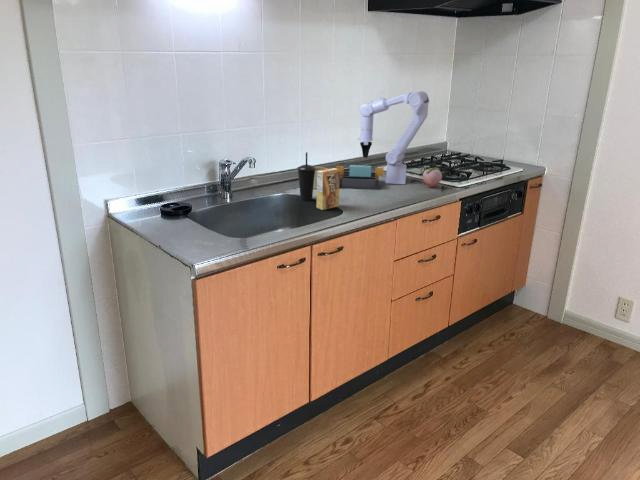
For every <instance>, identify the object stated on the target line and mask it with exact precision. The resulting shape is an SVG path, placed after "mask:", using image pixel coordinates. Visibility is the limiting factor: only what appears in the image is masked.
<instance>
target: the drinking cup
mask: <svg viewBox="0 0 640 480" xmlns="http://www.w3.org/2000/svg"><path fill="white" fill-rule="evenodd" d="M315 167H316V166H314V165H311V164H308V152H306V151H305V164H302V165H300V166H298V167H297V168H296V169H297V172H298V173H297V174H298V183H299V195H300V197H299V198H300V201H303V202H310V201H312V200H313V194H314V189H313V185H314V175H315V169H316V168H315Z"/></svg>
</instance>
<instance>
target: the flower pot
mask: <svg viewBox="0 0 640 480" xmlns="http://www.w3.org/2000/svg"><path fill="white" fill-rule="evenodd" d="M314 167H315V168H316V169H315V175H314V185H313V190H317V171H320V170H326V169H328V168H327V167H321V166H314Z"/></svg>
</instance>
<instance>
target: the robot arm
mask: <svg viewBox="0 0 640 480" xmlns="http://www.w3.org/2000/svg"><path fill="white" fill-rule="evenodd" d="M403 103H405V104H409V106H411V108H412V110H413V113H414V116H413V117H412V119H411V121H409V124H408V125H407V127H406V129H405V130H404V132H403V133H402V134H401V137H400V138H399V140H398V141H397V142H396V143H395V145H394V146H393V147H392V149H391V150H390V151H388V152H386V154H385V161H386V163H387V164H386V174H385V175H386V178H385V179H384V181H385V184H390V185H392V184H394V185H406V182H407V181H406V180H407V164H404V163H403V160H404V159H405V155H406V152H407V150H408V149H407V148H408V147H409V145H410V144H411V142H412V140H413V139H414V138H415V136H416V135H417V133H418V131H419V130H420V128H421V127H422V125H423V124H424V122H425V120H426V119H427V118H428V115H429V104H430V97H429V96H428V93H427V91H424V90H419V91H414V92H408V93H403V94H401V95H398V96H394V97H392V98H390V99H387V98H384V97H378V99H377V100H374V101H373V100H371V101H369V102H368V103H363V104H362V105H361V106H360V107H359V113H360V115H361V121H360V136H359V137H357V140H358V141H360V143H359V144H360V147H361V151H362V152H361V153H362V157H363V158H368V156H369V155H370V154H369V152H370V149H371V148H372V145H373V142H372V141H373V140H374V139H373V132H374V115H376V114H379V113H382V112H386V111H388V110H389V108H390V107H392V106H395V105H400V104H403Z"/></svg>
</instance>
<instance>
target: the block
mask: <svg viewBox="0 0 640 480" xmlns="http://www.w3.org/2000/svg"><path fill="white" fill-rule="evenodd" d="M348 171H349V176H361V177H371V172H372V165H362V164H361V165H358V164H357V165H356V164H350V165H349V170H348Z"/></svg>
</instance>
